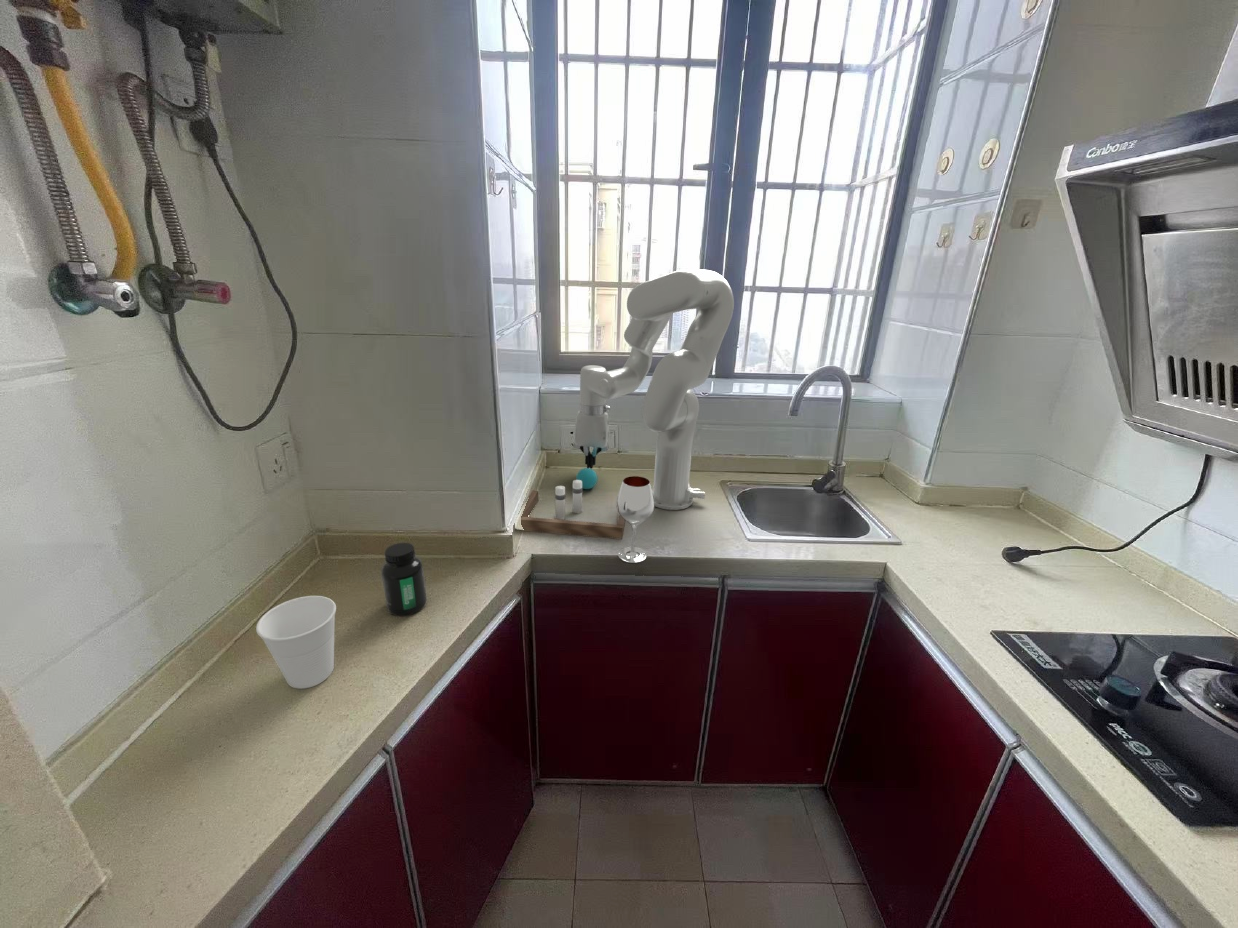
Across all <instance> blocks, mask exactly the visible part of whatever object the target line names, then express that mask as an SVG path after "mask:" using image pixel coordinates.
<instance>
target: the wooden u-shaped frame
mask: <svg viewBox="0 0 1238 928" xmlns="http://www.w3.org/2000/svg"><path fill="white" fill-rule="evenodd" d="M528 497H529V499H528V501H527V503H526V506H525V509H524V511H523V514H522V516H521V525H522V527H523V529H524V530H525V531H524V532H532V531H533V532H535V533H536V532H537V533H545V534H546V533H547V534H559V535H568V536H569V535H570V536H580V537H581V536H583V537H594V538H605V539H616V540H622V539H623V536H624V531H625V528H626V527H625V526H626V522H627V521H625V520H624V519H623V518H622V517H621V516H620V515H619V514H618V518H617V523H607V522H606V523H604V522H593V521H591V522H590V521H580V520H567V519H564V520H558V519H556V518H545V517H544V518H543V517H530V516H531V514H532V513H531V511H532V510H533V511H534V509H535V507H536V506H537V504H538V503H539V490H535V489H533V490H532V491H531V492H530V493H529V496H528ZM535 505H536V506H535ZM533 508H534V509H533ZM533 511H532V512H533ZM530 513H531V514H530ZM528 515H530V516H529V517H528ZM533 532H532V533H533Z"/></svg>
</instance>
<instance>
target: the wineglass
mask: <svg viewBox="0 0 1238 928" xmlns="http://www.w3.org/2000/svg"><path fill="white" fill-rule="evenodd" d="M652 490H653V488H652V485H651V481H650V479H648V478H647V477H644V476H639V475H630V476H627V477H625V478H623V479H622V482H621V485H620V488H619V491H618V494H617V497H616V501H615V508H616V511H617V513H618V516H619V515H620V516H621V517H622V518H623V519H624V520H625V521H626V522H627V523H628V524H629V525H630V526H631V542H630V543H631V545H630V546H627V547H623V548H621V549H620V550H618V553H620V554H618V553H617V556H618V558H619V559H620V560H622V561H623V562H624V563H629V564H639V563H641V562H644V561H645V560H646V559H647V556H646V555H647V552H646V551H645V550H643V549H642V548H639V547H636V532H637V529H636V528H637V527H638V526H639V525H640V524H642V523H643V522H645V521H647V519H649V518H650V517H651V516H652V514H653V513H654V509H655V506H654V498H653V493H652ZM640 553H641V554H642V553H645V554H643V555H644V556H643V555H641V554H640ZM621 554H622V555H621Z"/></svg>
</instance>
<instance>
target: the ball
mask: <svg viewBox="0 0 1238 928" xmlns="http://www.w3.org/2000/svg"><path fill="white" fill-rule="evenodd" d="M575 477H576V479H575V480H581V481H582V490H583V489H585V490H590V489H592V488H594V487H595V486H596V484H597V482H598V476H597V473H596V471H595V470H593V468H592V469H590V468H587V467H585V468H582V469H580V470H579V471H578V472H577V474H576V476H575Z"/></svg>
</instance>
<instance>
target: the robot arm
mask: <svg viewBox="0 0 1238 928" xmlns="http://www.w3.org/2000/svg"><path fill="white" fill-rule="evenodd" d="M734 308H735V297H734V293H733V289H732V288H731V286H730V284H729V282H728V280H727V279H725V278H724V276H723V275H721V274H719V273H718V272H716V271H713V270H709V269H692V268H691V269H687V268H685V269H680V270H676V271H672V272H670V273H667V274H665V275H662V276H659V277H656V278H653V279H650V280H647V281H644V282H641V283H639V284H637V285H635V287H633V288H632V289H631V291H630V292H629V294H628V296H627V299H626V309H627V312H628V314H629V316H630V317H632V318H631V319H630V320H629V323H628V325H627V327H626V329H625V330H624V333H623V339H624V340H625V342H626V344H628V345H629V346H630V347H631V350H630V353H629V355H628V358H627V360H626V362H625V363H624V365H623V366H622V367H620V368H614V369H612V370H607V369H606V367H604V366H601V365H596V364H595V365H594V364H592V365H590V364H588V365H585V366H582V367H581V370H580V373H579V374H580V376H579V377H580V378H579V379H580V381H579V410H577V413H576V416H575V423H574V431H573V444H572V445H573V446H572V447H573V448H574V449H578V450H580V451H581V452H582V453H583V455H584V456H585V457H584V458H585V461H584V463H585V464H584V465H586V468H589V469H592V470H593V467H594V466H596V463H597V455H598V454H599V453H601V452H605V451H609V448H610V447H609V446H610V445H609V439H610V421H609V414H608V412H610V411H611V406H609V405H607V403H606V402H607V400H612V399H617V398H620V397H622V396H625V395H628V394H632V393H634V392H635V391H637V390H638V389H639V388H640V386H641V384H642V383H643V382H644V380H645V378H646V376H647V375H648V373H649V371H650V369H651V366H652V364H653V363H652V361H653V356H654V352H653V349H654V347H655V346H656V343H657V342H658V341H659V339H660V337H661V335H662V334H663V332H664V329H665V328H666V327H667V325H668V323H669V321H670V319H672V318H671V317H672V316H673V314H675V313H678V312H682V311H688V310H698V311H697V314H696V315H695V317H694V319H693V321H692V322H691V324H690V325H689V328H688V331H687V333H686V336H685V339H684V340H683V343H682V346H681V347H680V349H679V350H677V351H672V352H670V353H668V354H666V355H664V356H663V357H662V358H661V360H659V361H658V363H657V364H656V366H655V368H654V372H653V373H652V376H651V380H650V382H649V385H648V388H647V390H646V394H645V397H644V399H643V402H642V407H641V418H642V421H643V423H644V425H645V426H646V428H648V429H649V430H650V431H652V432H654V433H657V435H656V443H655V444H656V446H655V456H654V457H655V460H654V471H653V472H654V474H653V475H654V476H653V487H652V493H653V498H654V507H656V508H658V509H663V510H668V511H669V510H670V511H678V510H684V509H687V508H689V507H691V505H692V504H693V502H694V499H698V500H699V499H700V500H701V499H702V500H703V499H704V500H705V499H706V498H705V497H706V492H705V491H701V488H692V487H691V486H690V474H691V463H692V462H691V461H692V451H693V443H694V434H695V430H696V425H697V421H698V416H699V412H700V403H699V399H698V396H697V395H696V394H695V391H693V390H692V389H695V388H697V387H699V386H701V385H703V384H704V383H705V382H706V381H707V379H708V377H709V376H710V373H711V371H712V369H713V365H714V362H715V361H716V357H717V356H718V353H719V351H720V348H721V345H722V342H723V340H724V337H725V335H726V333H727V331H728V328H729V326H730V323H731V321H732V317H733V315H734ZM606 399H607V400H606ZM590 447H591V448H592V452H591V450H590Z"/></svg>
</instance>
